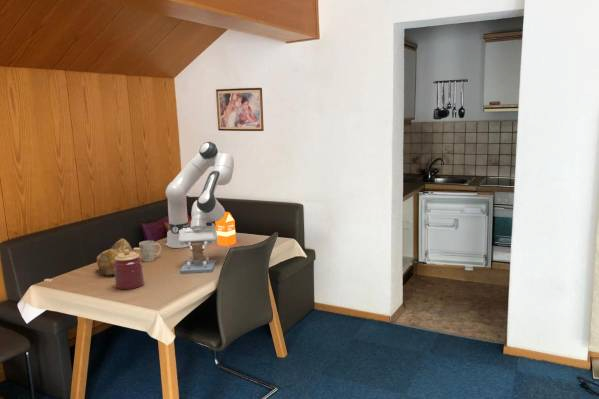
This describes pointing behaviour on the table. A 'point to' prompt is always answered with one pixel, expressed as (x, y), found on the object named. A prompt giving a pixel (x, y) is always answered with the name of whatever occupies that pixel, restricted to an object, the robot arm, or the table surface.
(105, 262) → the rough brown rock
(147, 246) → the mug
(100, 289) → the table surface
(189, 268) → the peg seat
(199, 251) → the walnut block
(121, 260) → the canister
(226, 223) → the orange juice
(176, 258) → the table surface
